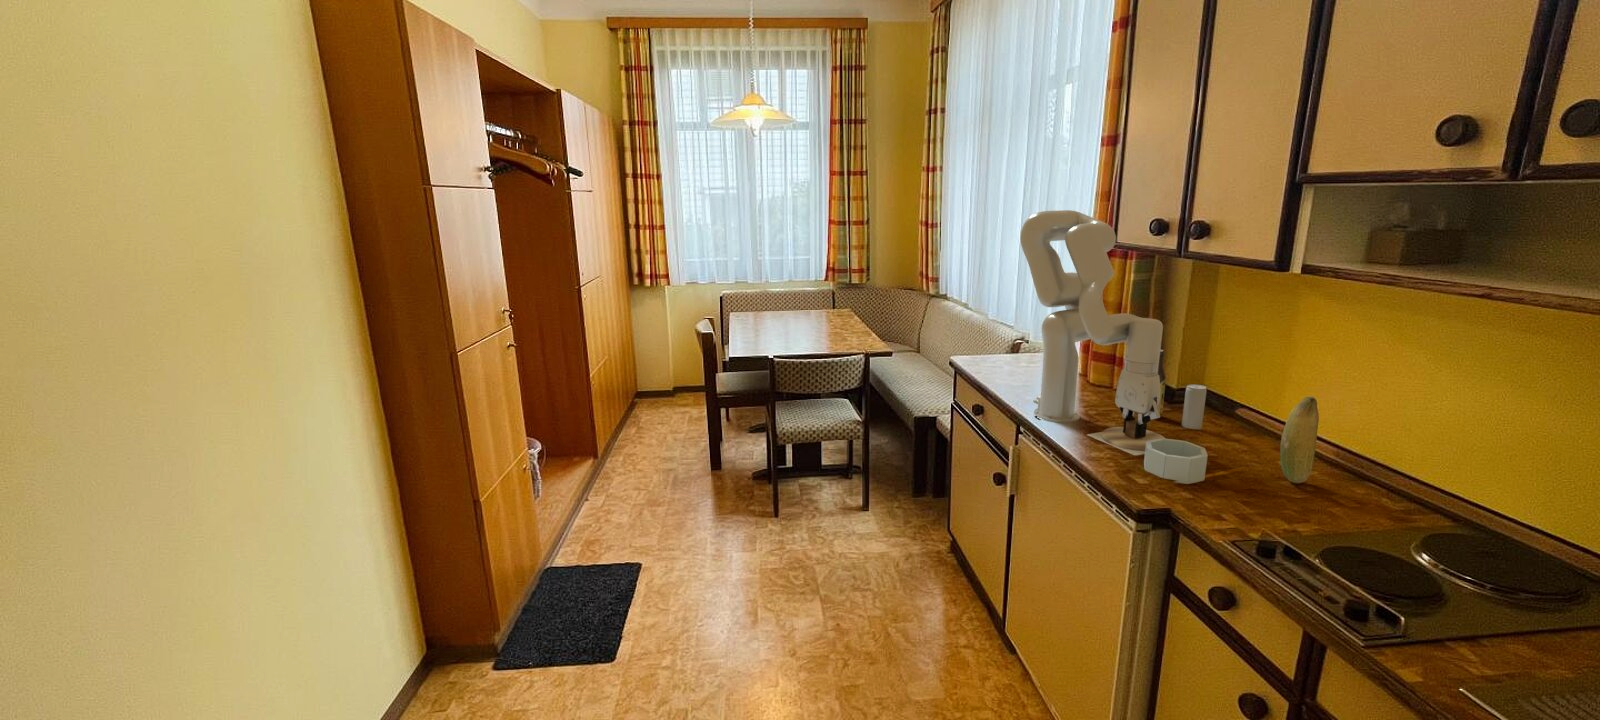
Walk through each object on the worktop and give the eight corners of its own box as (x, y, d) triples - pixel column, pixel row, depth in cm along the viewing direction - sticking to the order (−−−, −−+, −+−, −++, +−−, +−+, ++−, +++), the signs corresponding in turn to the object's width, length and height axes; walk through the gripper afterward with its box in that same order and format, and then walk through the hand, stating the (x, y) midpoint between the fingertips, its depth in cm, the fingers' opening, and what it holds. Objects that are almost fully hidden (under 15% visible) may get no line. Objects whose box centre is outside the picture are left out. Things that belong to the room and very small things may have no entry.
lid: (1089, 434, 174) (1090, 417, 172) (1132, 427, 179) (1134, 410, 177) (1134, 454, 160) (1136, 435, 159) (1179, 445, 165) (1182, 427, 164)
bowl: (1132, 466, 154) (1134, 443, 153) (1169, 459, 158) (1172, 436, 157) (1176, 486, 143) (1179, 461, 142) (1215, 478, 147) (1219, 453, 146)
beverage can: (1200, 426, 180) (1206, 385, 177) (1201, 432, 176) (1207, 389, 173) (1180, 424, 182) (1185, 383, 179) (1181, 429, 178) (1186, 387, 175)
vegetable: (1303, 490, 140) (1319, 402, 135) (1269, 481, 145) (1283, 396, 140) (1313, 483, 143) (1328, 397, 139) (1280, 474, 148) (1294, 391, 144)
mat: (1086, 436, 174) (1086, 434, 174) (1131, 428, 179) (1132, 426, 179) (1134, 457, 159) (1134, 455, 159) (1182, 448, 165) (1183, 446, 165)
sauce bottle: (1164, 420, 185) (1172, 353, 181) (1141, 419, 187) (1148, 352, 182) (1157, 413, 192) (1165, 348, 187) (1134, 412, 193) (1141, 347, 188)
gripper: (1105, 361, 171) (1098, 427, 175) (1157, 376, 156) (1149, 447, 160) (1127, 358, 173) (1120, 423, 178) (1180, 372, 158) (1172, 443, 163)
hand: (1134, 434), depth 169 cm, fingers closed on lid, 3 cm apart
